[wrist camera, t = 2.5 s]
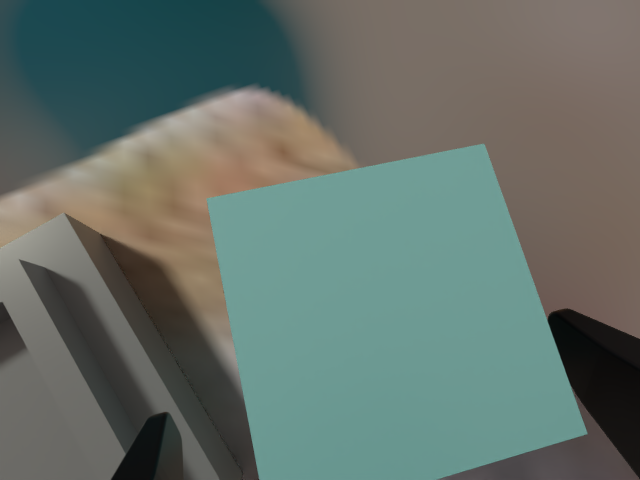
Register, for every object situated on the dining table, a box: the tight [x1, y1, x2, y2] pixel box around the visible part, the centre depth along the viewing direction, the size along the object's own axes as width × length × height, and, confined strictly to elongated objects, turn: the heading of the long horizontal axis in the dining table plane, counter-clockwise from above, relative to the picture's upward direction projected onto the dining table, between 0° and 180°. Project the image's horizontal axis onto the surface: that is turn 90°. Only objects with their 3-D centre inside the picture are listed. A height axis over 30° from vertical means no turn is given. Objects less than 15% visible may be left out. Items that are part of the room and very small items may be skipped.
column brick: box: [207, 144, 588, 480], centre depth 12 cm, size 5×5×12 cm
